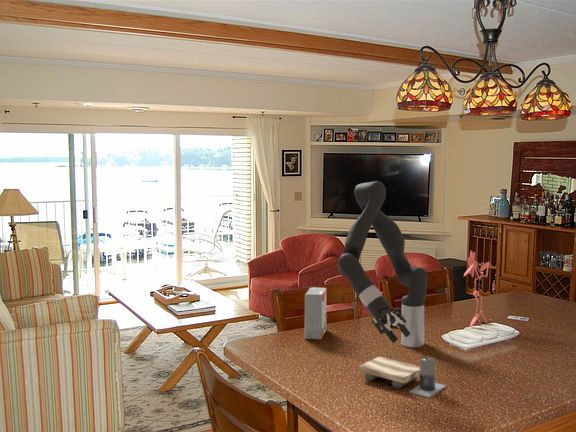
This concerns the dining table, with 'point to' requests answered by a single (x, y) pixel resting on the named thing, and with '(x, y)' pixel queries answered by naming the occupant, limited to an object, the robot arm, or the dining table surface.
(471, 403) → the dining table surface
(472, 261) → the figurine
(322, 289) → the hard drive box
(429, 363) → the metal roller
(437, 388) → the slate-grey pad
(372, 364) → the birch slab
